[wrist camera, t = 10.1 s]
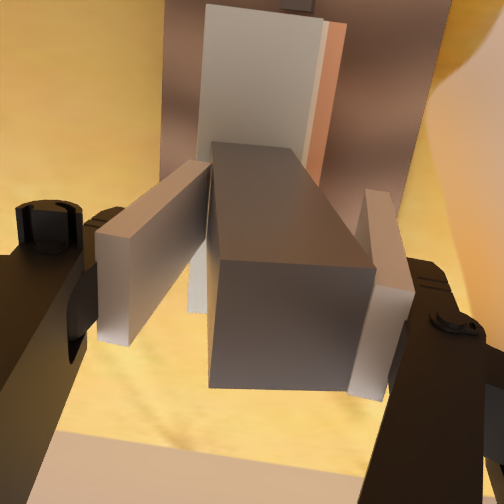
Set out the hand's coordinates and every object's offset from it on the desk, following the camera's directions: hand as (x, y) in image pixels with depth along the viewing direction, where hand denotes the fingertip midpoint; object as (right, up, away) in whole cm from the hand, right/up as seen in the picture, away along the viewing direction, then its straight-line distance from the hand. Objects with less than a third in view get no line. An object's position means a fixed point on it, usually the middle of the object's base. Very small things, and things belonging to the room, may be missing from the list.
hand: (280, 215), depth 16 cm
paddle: (-1, +3, +5) cm, 6 cm away
